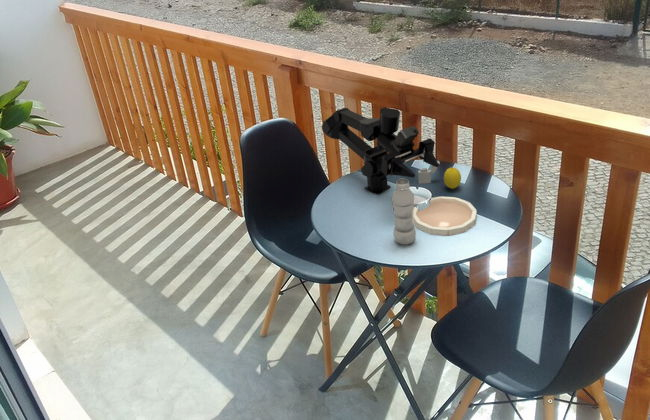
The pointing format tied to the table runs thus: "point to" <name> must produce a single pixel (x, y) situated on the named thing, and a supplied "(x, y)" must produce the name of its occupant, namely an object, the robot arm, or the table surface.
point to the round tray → (445, 216)
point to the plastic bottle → (403, 213)
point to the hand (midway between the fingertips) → (426, 170)
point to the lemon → (452, 178)
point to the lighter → (426, 174)
